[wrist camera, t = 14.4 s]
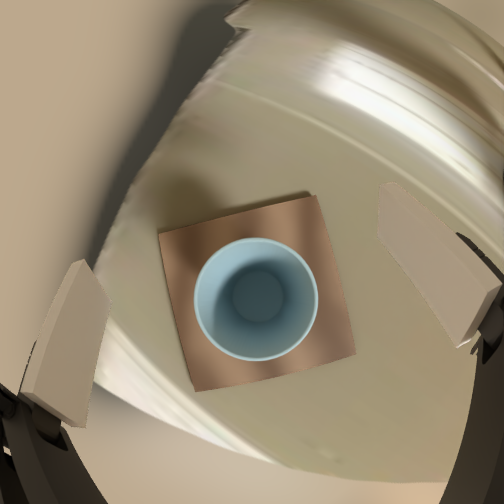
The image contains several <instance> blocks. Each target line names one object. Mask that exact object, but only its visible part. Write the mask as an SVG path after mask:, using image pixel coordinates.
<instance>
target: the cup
mask: <svg viewBox="0 0 504 504" xmlns="http://www.w3.org/2000/svg"><path fill="white" fill-rule="evenodd" d="M317 308H318V291H317V285H316V281H315V278H314V276H313V273H312V271H311V270H310V268H309V266H308V265H307V263H306V262H305V261H304V259H303V258H302V257H301V256H300V255H299V254H298V253H297V252H296V251H294V250H293V249H291V248H290V247H288V246H287V245H285V244H283V243H281V242H278V241H275V240H272V239H267V238H244V239H240V240H236V241H234V242H231V243H229V244H227V245H225V246H224V247H222V248H220V249H219V250H218V251H216V252H215V253H214V254H213V255H212V256H211V257H210V258H209V259H208V260H207V262H206V263H205V264H204V266H203V267H202V269H201V271H200V273H199V275H198V278H197V281H196V284H195V289H194V310H195V314H196V318H197V321H198V323H199V326H200V328H201V329H202V331H203V333H204V334H205V336H206V337H207V338H208V339H209V341H210V342H211V343H212V344H213V345H215V346H216V347H217V348H218V349H220V350H221V351H223V352H224V353H226V354H228V355H230V356H232V357H235V358H238V359H242V360H247V361H264V360H270V359H274V358H277V357H279V356H282V355H284V354H286V353H288V352H289V351H291V350H292V349H294V348H295V347H296V346H297V345H298V344H299V343H300V342H301V341H302V340H303V339H304V338H305V337H306V335H307V334H308V332H309V331H310V329H311V327H312V325H313V323H314V320H315V317H316V313H317Z"/></svg>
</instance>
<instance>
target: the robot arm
mask: <svg viewBox="0 0 504 504" xmlns="http://www.w3.org/2000/svg"><path fill="white" fill-rule="evenodd" d="M377 238H378V239H379V240H380V242H381V243H382V244H383V245H384V247H385V248H386V249H387V250H388V252H389V253H390V254H391V255H392V257H393V258H394V259H395V260H396V262H397V263H398V264H399V266H400V267H401V268H402V270H403V271H404V272H405V274H406V275H407V276H408V278H409V279H410V280H411V282H412V283H413V284H414V286H415V287H416V288H417V290H418V291H419V293H420V294H421V295H422V297H423V298H424V300H425V301H426V303H427V304H428V305H429V307H430V308H431V310H432V311H433V313H434V314H435V316H436V317H437V319H438V320H439V322H440V323H441V325H442V327H443V328H444V330H445V331H446V333H447V334H448V336H449V338H450V339H451V341H452V342H453V344H454V346H455V347H456V348H458V347H460V346H461V345H463V344H465V343H467V342H468V341H470V340H471V339H472V338H473V336H474V334H475V333H476V331H477V329H478V330H479V332H480V333H481V336H480V337H479V339H478V341H477V342H476V344H475V345H474V346H473V348H472V350H471V353H470V354H472V355H473V353H474V352H475V351H476V349H477V348H478V352H477V354H476V355H477V365H476V373H475V381H474V388H473V394H472V399H471V405H470V410H469V415H468V419H467V423H466V428H465V431H464V435H463V439H462V443H461V446H460V449H459V453H458V456H457V459H456V462H455V465H454V468H453V471H452V473H451V476H450V479H449V481H448V484H447V487H446V489H445V491H444V494H443V496H442V498H441V501H440V503H439V504H504V275H503V273H502V272H501V271H500V270H499V269H498V268H497V267H496V266H495V265H494V264H493V262H492V261H491V260H490V259H489V258H488V257H487V256H486V257H485V254H484V253H483V252H482V251H481V250H480V249H478V247H477V246H476V245H475V244H474V243H473V242H472V241H471V240H470V239H469V238H467V237H465V236H463V235H462V234H460V233H458V232H457V233H454V232H453V231H452V230H451V229H450V228H449V227H448V226H447V225H445V224H444V223H443V222H442V221H441V220H440V219H439V218H438V217H437V216H435V215H434V214H433V213H432V212H431V211H430V210H429V209H427V208H426V207H425V206H424V205H423V204H421V203H420V202H419V201H418V200H417V199H415V198H414V197H413V196H412V195H410V194H409V193H408V192H407V191H405V190H404V189H403V188H402V187H400V186H399V185H398V184H396V183H395V182H389V183H384V184H380V186H379V214H378V230H377ZM111 305H112V301H111V299H110V298H109V296H108V295H107V293H106V292H105V291H104V289H103V288H102V286H101V285H100V283H99V282H98V280H97V279H96V277H95V276H94V274H93V272H92V271H91V269H90V268H89V266H88V265H87V263H86V261H85V260H84V259H83V260H80V261H77V262H74V263H72V264H71V266H70V268H69V270H68V272H67V274H66V276H65V278H64V280H63V282H62V284H61V286H60V288H59V290H58V292H57V294H56V296H55V298H54V301H53V303H52V305H51V307H50V309H49V312H48V314H47V316H46V319H45V321H44V323H43V326H42V328H41V331H40V333H39V336H38V338H37V340H36V342H35V343H34V346H33V348H32V351H31V356H30V357H29V360H28V364H27V366H26V369H25V372H24V375H23V378H22V382H21V385H20V389H19V392H18V395H17V396H16V395H15V394H13V393H12V392H11V391H9V390H8V389H7V388H6V387H4V386H3V385H2V384H1V383H0V504H108V503H107V502H106V500H105V499H104V497H103V496H102V494H101V493H100V491H99V490H98V488H97V486H96V485H95V483H94V482H93V480H92V478H91V477H90V475H89V473H88V472H87V470H86V468H85V467H84V465H83V463H82V461H81V459H80V458H79V456H78V454H77V452H76V450H75V448H74V446H73V444H72V442H71V440H70V438H69V436H68V434H67V431H66V430H65V429H64V428H63V427H62V426H61V421H63V422H65V423H66V424H68V425H70V426H71V427H80V428H86V420H87V414H88V407H89V401H90V395H91V389H92V384H93V379H94V373H95V369H96V364H97V359H98V355H99V350H100V346H101V342H102V338H103V334H104V330H105V326H106V323H107V319H108V315H109V312H110V308H111ZM3 446H5V447H6V448H8V449H10V452H11V455H12V456H10V455H8V454H7V453H5V452H4V448H3Z"/></svg>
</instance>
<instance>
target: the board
mask: <svg viewBox="0 0 504 504" xmlns="http://www.w3.org/2000/svg"><path fill="white" fill-rule="evenodd" d="M158 236H159V242H160V247H161V253H162V258H163V264H164V269H165V274H166V279H167V284H168V289H169V293H170V298H171V302H172V307H173V311H174V315H175V320H176V324H177V328H178V332H179V336H180V340H181V344H182V347H183V351H184V355H185V358H186V362H187V366H188V369H189V373H190V376H191V379H192V383H193V386H194V389H195V392H199V391H206V390H212V389H219V388H225V387H230V386H236V385H241V384H246V383H251V382H256V381H261V380H265V379H270V378H274V377H278V376H282V375H286V374H290V373H294V372H298V371H302V370H306V369H309V368H313V367H316V366H320V365H323V364H326V363H330V362H333V361H336V360H339V359H342V358H346V357H349V356H352V355H355V354H356V350H355V345H354V340H353V335H352V330H351V325H350V321H349V316H348V312H347V307H346V303H345V298H344V294H343V290H342V286H341V282H340V278H339V274H338V270H337V266H336V262H335V258H334V255H333V251H332V247H331V244H330V240H329V236H328V233H327V229H326V226H325V223H324V219H323V216H322V213H321V209H320V206H319V203H318V200H317V196H316V195H314V196H310V197H305V198H300V199H296V200H291V201H287V202H283V203H278V204H274V205H270V206H265V207H261V208H257V209H253V210H249V211H244V212H240V213H236V214H232V215H228V216H224V217H220V218H217V219H213V220H209V221H205V222H201V223H197V224H194V225H190V226H186V227H182V228H179V229H175V230H171V231H168V232H164V233H161V234H158ZM244 238H267V239H272V240H275V241H278V242H281V243H283V244H285V245H287V246H288V247H290V248H291V249H293V250H294V251H296V252H297V253H298V254H299V255H300V256H301V257H302V258H303V259H304V261H305V262H306V263H307V265H308V266H309V268H310V270H311V271H312V273H313V276H314V278H315V281H316V285H317V291H318V308H317V313H316V317H315V320H314V323H313V325H312V327H311V329H310V331H309V332H308V334H307V335H306V337H305V338H304V339H303V340H302V341H301V342H300V343H299V344H298V345H297V346H296V347H295V348H294V349H292V350H291V351H289V352H288V353H286V354H284V355H282V356H279V357H277V358H274V359H270V360H264V361H247V360H242V359H238V358H235V357H232V356H230V355H228V354H226V353H224V352H223V351H221V350H220V349H218V348H217V347H216V346H215V345H213V344H212V343H211V342H210V341H209V339H208V338H207V337H206V336H205V334H204V333H203V331H202V329H201V328H200V326H199V323H198V321H197V318H196V314H195V310H194V289H195V284H196V281H197V278H198V275H199V273H200V271H201V269H202V267H203V266H204V264H205V263H206V262H207V260H208V259H209V258H210V257H211V256H212V255H213V254H214V253H215V252H216V251H218V250H219V249H220V248H222V247H224V246H225V245H227V244H229V243H231V242H234V241H236V240H240V239H244Z"/></svg>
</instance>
